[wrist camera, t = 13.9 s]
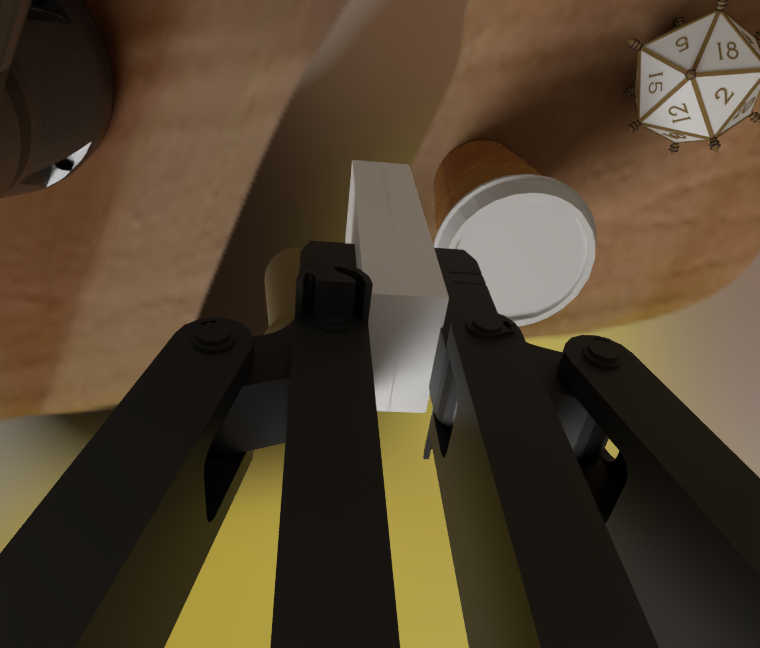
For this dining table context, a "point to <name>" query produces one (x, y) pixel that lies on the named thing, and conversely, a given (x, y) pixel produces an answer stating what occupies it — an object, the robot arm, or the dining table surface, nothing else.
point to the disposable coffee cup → (515, 229)
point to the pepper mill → (282, 288)
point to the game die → (697, 79)
